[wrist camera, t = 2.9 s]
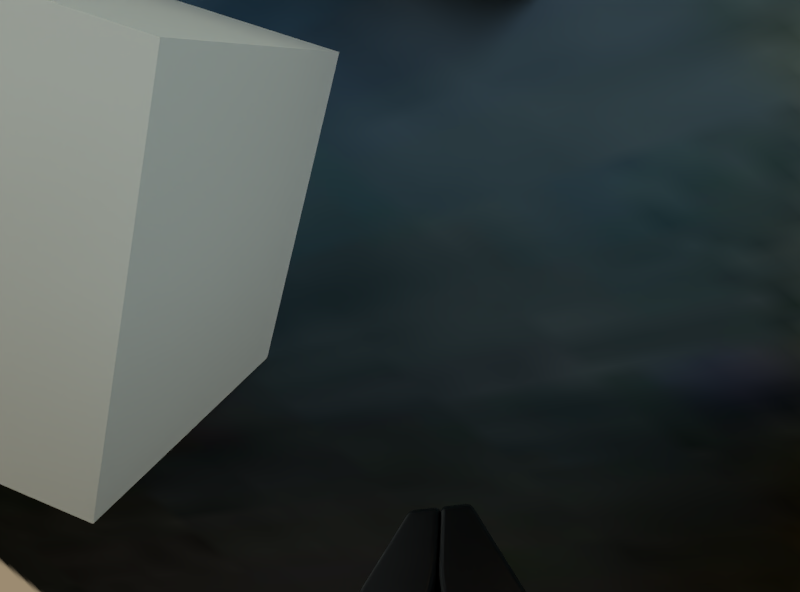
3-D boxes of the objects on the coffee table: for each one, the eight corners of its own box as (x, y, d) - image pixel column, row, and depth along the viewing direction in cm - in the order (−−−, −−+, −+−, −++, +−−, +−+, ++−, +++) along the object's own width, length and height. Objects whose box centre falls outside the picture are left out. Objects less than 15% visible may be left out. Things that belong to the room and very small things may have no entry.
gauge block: (339, 52, 19) (160, 37, 10) (268, 356, 22) (93, 523, 14) (89, -28, 20) (-257, -99, 11) (60, 277, 23) (-218, 390, 15)
